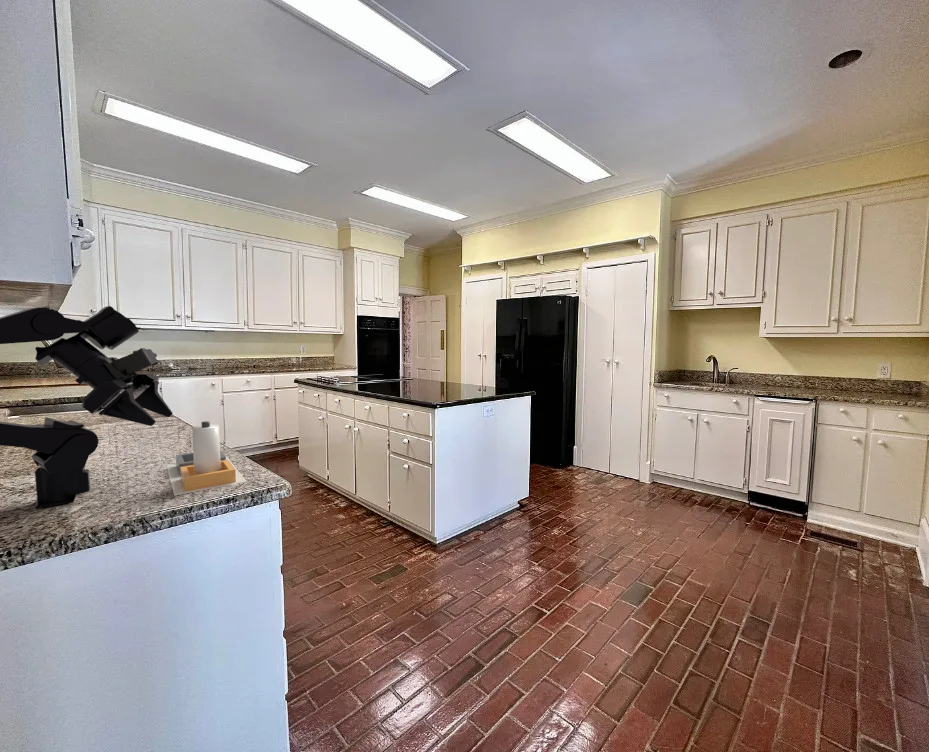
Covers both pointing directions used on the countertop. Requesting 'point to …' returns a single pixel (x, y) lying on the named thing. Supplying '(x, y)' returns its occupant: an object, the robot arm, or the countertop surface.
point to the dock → (201, 475)
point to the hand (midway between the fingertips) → (162, 419)
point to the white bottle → (206, 448)
